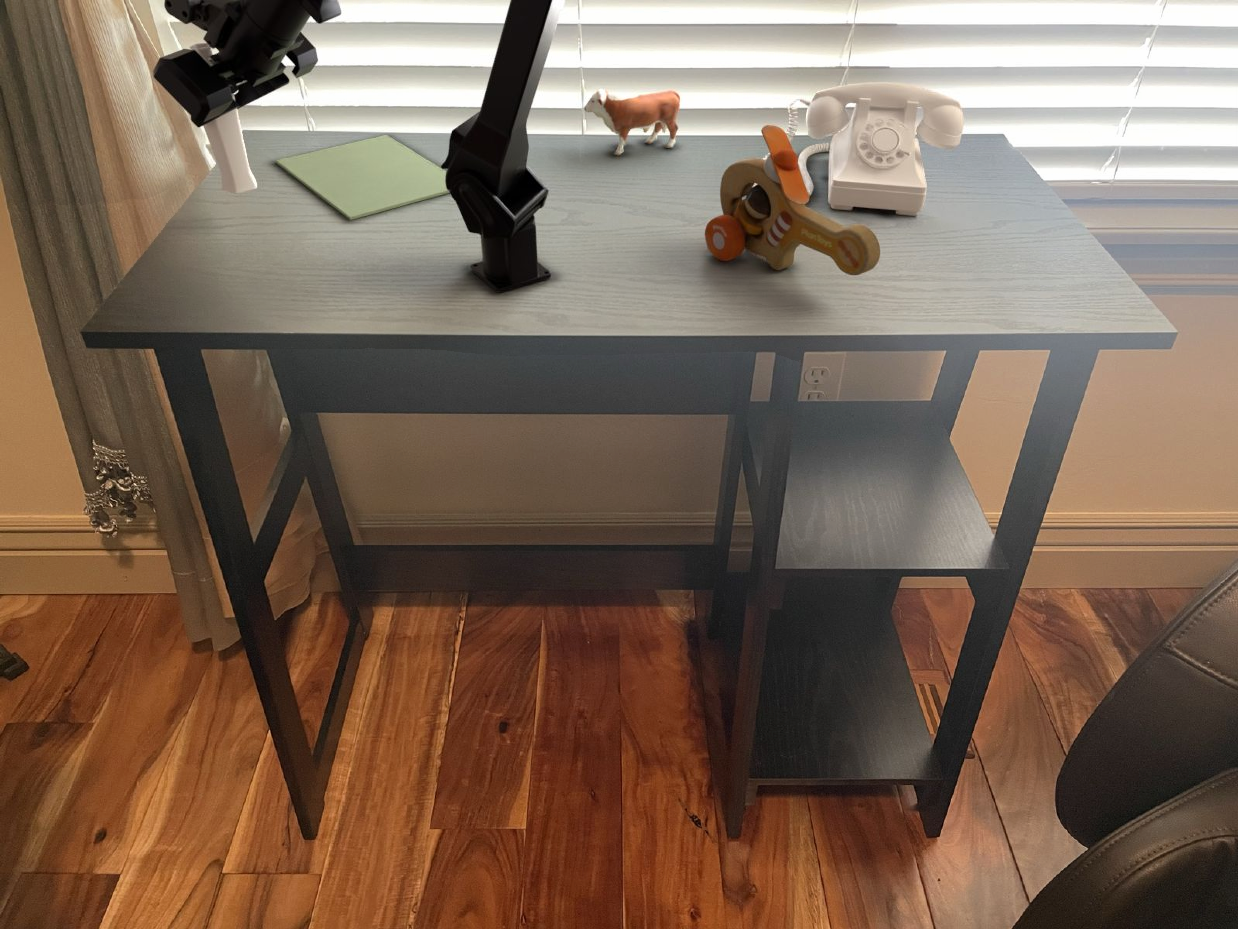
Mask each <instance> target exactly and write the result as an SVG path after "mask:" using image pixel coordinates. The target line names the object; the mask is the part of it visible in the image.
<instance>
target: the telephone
mask: <svg viewBox="0 0 1238 929" xmlns="http://www.w3.org/2000/svg"><path fill="white" fill-rule="evenodd" d="M797 101H799V102H800V103H802V104H803V105H804V106H807V109H806V115H805V124H806V130H807V135H808V136H809V137H810V138H811V139H814V140H821V139H826V138H829V137H831V136H832V138H831V141H830V142H826V143H825V142H823V143H816V144H812V145H810V146H807V147H805V148H803V150H801V152H800V154H799V156H798V164H799V167H800V172H801V174H802V178H803V181H804V183H805V186H806V189H807V191H808V194H809V197H811V196H812V194H813V192H814V182H813V180H812V178H811V175H810V174H809V172H808V169H807V160H808V158H809V157H810V156H811V155H814V154H817V153H823V152H829V154H828V183H827V184H828V187H827V188H828V190H827V192H828V193H827V194H828V196H827V203H828V204H829V205H830V208H831V209H833V210H841V211H853V208H854V207H856V208H866V209H867V208H868V209H880V210H889V211H891V210H892V211H895V213H896V215H900V216H909V217H911V216H912V217H916V216H918V214H919V213H920V212H923V210H924V205H925V203H926V199H927V198H926V197H927V189H928V186H927V178H926V175H925V169H924V164H923V158H922V154H921V147H920V142H919V139H920V140H921V141H923V142H924V143H926V144H928V145H929V146H932V147H934V148H938V149H941V150H942V149H943V150H952V149H955V148H957V147H958V146H959V145H960V143H961V139H962V136H963V130H964V124H965V120H964V114H963V113H964V112H963V109H962V107H961V106H962V105H961V104H960V101H958V100H957V99H954V98H952V97H950V96H948V95H945V94H943V93H940V92H938V91H935V90H932V89H928V88H925V87H922V86H917V85H912V84H908V83H901V82H892V81H891V82H890V81H871V82H858V83H849V84H843V85H838V86H833V87H829V88H824V89H822V90H818V91H816V92H815V93H814V95H813V97H812V99H811V101H810V100H807V99H804V98H797V99H795V100H794V101H793V102H791V103H790V104H789V105H788V106H787V110H788V114H789V115H788V121H789V122H788V126H787V130H786V131H787V132H785V133H786V135H787V137H788V139H789V141H790V144H791V143H792V141H793V140H794V136H796V133H795V132H797V128H798V123H799V121H798V119H799V116H798V113H799V112H798V107H797V106H793V105H794V104H795V103H796V102H797ZM849 104H855V105H854V108H853V111H852V114H851V116H850V114H849V112H848V110H847V108H846V107H847V105H849ZM791 107H792V108H791ZM919 108H920V109H922V119H921V121H919V123H918V124H917V116H918V111H919V110H918V109H919ZM792 111H793V112H792ZM794 115H795V116H794ZM850 117H851V118H850ZM795 119H797V120H795ZM916 135H917V137H918V138H919V139H918V138H916ZM769 155H770V152H768V153H767V154H766V155H765V156H764V157H763V158H761V159H762V160H765V161H766V159H767V157H768V156H769ZM756 185H758V184H756V183H755V184H754V185H753V187H754V186H756Z"/></svg>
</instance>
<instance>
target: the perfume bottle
mask: <svg viewBox="0 0 1238 929" xmlns="http://www.w3.org/2000/svg"><path fill="white" fill-rule="evenodd" d="M189 49H191V50H196V51H197V53H198V54H199V55H200V56H201V57H202V58H203V59H204V60H205V61H206V62H207V63H208V64H209V65H210V66H213V64H212V63H211V62H210V61H209V57H210V56H211V55H214V53H213V51H212V48H211V47H210V46H209V45H208V44H207V43H206V42H197V43H194V44H192V45H190V46H189ZM232 98H233V99H234V100H235V96H234V95H233V96H232ZM239 116H240V115H239V110H238V109H237V108H236V109H234V110H233V111H231V112H229V113H227V114H225V115H223V116H221V117H219V118H217V119H215V120H213V121H211V122H209V123H207V124H205V125H203V126H202V127H203V129H204V132H205V135H206V137H207V139H208V142H209V145H210V147H211V150H212V153H213V155H214V158H215V161H216V164H217V165H218V169H219V171H220V174H221V189H222V190H223V191H226V192H229V193H231V194H235V195H236V194H241V193H244V192H249V191H251V190H255V189H258V184H257V179H256V177H255V176H254V173H253V172H252V170H251V168H250V164H249V159H248V154H247V150H246V144H245V141H244V140H245V139H244V135H243V131H242V125H241V121H240V117H239Z"/></svg>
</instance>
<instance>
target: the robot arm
mask: <svg viewBox="0 0 1238 929" xmlns="http://www.w3.org/2000/svg"><path fill="white" fill-rule="evenodd" d="M565 2H566V0H510V1H509V5H508V9H507V13H506V16H505V18H504V23H503V27H502V30H501V34H500V37H499V41H498V43H497V44H498V45H497V48H496V52H495V55H494V59H493V63H492V66H491V70H490V73H489V77H488V81H487V84H486V88H485V91H484V95H483V98H482V101H481V102H482V103H481V106H480V110H479V111H478V112H476V113H475V114H474V115H472V116H470V117H469V118H468V119H466V120H465V121H463V122H461V124H459V125H458V126H456V127H455V128H453V129H452V130H451V133H450V137H449V139H448V140H449V141H448V142H449V143H448V151H447V156H446V158H445V160H444V161H443V162H442V164H441V165H440V168H441V169H443V170H446V176H445V184H446V188H447V190H448V191H449V192H450V193H449V194H450V196H451V198H452V199H453V201H455V203H456V206H457V208H458V210H459V214H460V215H461V218H462V219H463V222H464V224H465V227H466V229H467V231H468V232H469V233H472V234H477V235H479V236H480V245H481V246H480V247H481V256H482V261H478V262H474V263H471V265H470V270H471V271H472V272H473V273H474V274H475V275H476V276H477V277H479V278H480V279H481V280H482V281H483V282H485V283H486V284H487V285H488V286H489V287H490V288H492V289H493V290H494V291H495V292H497V293H503V292H507V291H510V290H515V289H517V288H521V287H524V286H528V285H531V284H534V283H537V282H540V281H544V280H547V279H550V278H551V277H552V272H551V271H550V270H549V269H548V268H546V267H545V266H544V265H543V264H541V263H540V262H539V261H538V241H537V240H538V239H537V225H536V217H535V214H536V213H537V212H538V211H539V210H540V209H543V207H544V206H545V204H546V201H547V197H548V194H549V189H548V188H547V186H546V185H545V184H544V182H542V180H541V179H540V178H539V177H538V176H537V175H536V173H534V171H533V170H532V169H531V168H530V167H529V166H528V165H527V164H528V156H529V148H530V146H529V138H528V137H529V136H528V130H527V123H528V118H529V115H530V112H531V108H532V106H533V102H534V99H535V96H536V93H537V89H538V86H539V85H540V84H539V83H540V81H541V77H542V74H543V70H544V68H545V65H546V62H547V58H548V55H549V52H550V49H551V45H552V42H553V39H554V36H555V33H556V30H557V28H558V23H559V20H560V17H561V15H562V11H563V8H564V5H565ZM340 5H341V4H340V2H339V0H164V4H163V6H164V9H165V11H166V13H167V14H168V15H169V16H172V18H174V19H177V20H178V21H179V22H181V23H183V24H184V25H188V24H192V25H193V26H195V27H197V28H199V29H200V30H203V31H204V32H206V33H205V35H204V36H203V41H204V43H207V44H208V45H209V46H210V47H211V50H212V49H213V50H214V49H217V53H213V55H211V56H210V57H209V61H210V62H211V63H212V64H213V66H210V65H209V64H208V63H207V62H206V61H205V60H204V59H203V58H202V57H201V56H200V55H199V54H198V53H197V51H196V50H192V49H191V48H181V49H179V50H177V51H174V52H172V53H169V54H166V55H164V56H161V57H159V58H158V61H157V62H156V65H155V67H153V70H152V75H153V79H154V80H156V81H157V83H159V85H161V87H162V88H163V89H164V90H165V91H166V92H167V93H168V94H169V95H170V96H171V98H173V99H174V100H175V101H176V102H177V103H178V104H179V105H180V106H181V107H182V108H183V109H184V110H185V111H186V113H188V114H189V115H190V121H191V122H192V123H193V125H195V127H197V128H201V127H203V125H205V124H207V123H209V122H211V121H213V120H215V119H217V118H219V117H221V116H223V115H225V114H227V113H229V112H231V111H233V110H234V109H236V108H237V110H239V109H241V108H243V107H245V106H248V105H249V104H251V103H253V102H255V101H257V100H259V99H261V98H262V97H265V96H267V95H269V94H271V93H273V92H275V91H277V90H279V89H281V88H283V87H285V86H287V85H288V84H289V83H290V78H289V77H288V75H287V74H286V73H285V70H286V68H287V66H286V64H284V63H283V61H284V58H285V57H286V58H288V59H289V60H290V62H291V63H292V64H293V65H294V67H293V68H292V70H291V73H292V75H293V76H294V77H295V78H296V79H299V78H301V77H303V76H305V75H308V74H309V73H311V72H312V71H313V69H314V68H315V67H316V65H317V64H318V62H319V58H318V52H317V48H316V47H315V46H314V45H313V44H312V42H311V41H310V40H309V39H308V38H307V37H306V36H305V34H304V33H302V30H303V29H304V27H305V26H306V24H307V23H308V21H309V20H310V18H312V19H313V20H314V21H315V22H316V23H317V24H318V25H321V24H324V23H326V22H328V21H331V20H333V19H336V18H337V17H339V16H341V15H342V8H341V6H340ZM233 95H234V96H235V100H234V99H233V98H232V96H233Z"/></svg>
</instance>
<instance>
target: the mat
mask: <svg viewBox="0 0 1238 929" xmlns="http://www.w3.org/2000/svg"><path fill="white" fill-rule="evenodd" d="M275 162H276V164H277V165H278V166H279V167H281V168H282V169H283V170H285V171H286V172H287V173H289V174H290V175H291V176H292V177H294V178H295V179H297V181H299V182H300V183H301V184H303V185H304V186H305V187H307V188H308V189H309V190H311V191H312V192H314V193H315V194H316V195H317V196H318V197H320V198H321V199H322V200H324V201H325V202H326V203H328V204H329V205H330V206H331V207H333V208H334V209H336V210H337V211H338V212H339V213H340V214H342V215H343V216H344V217H345V218H347V219H348V220H350V221H353V220H356V219H360V218H364V217H368V216H371V215H375V214H378V213H382V212H385V211H389V210H392V209H396V208H399V207H403V206H408V205H410V204H415V203H418V202H422V201H425V200H429V199H433V198H436V197H440V196H444V195H447V194H450V192H449V191H448V190H447V188H446V184H445V176H446V172H447V170H446V169H442V168H441V166H438V165H436V164H435V163H434V162H432V161H430V160H428V159H427V158H425V157H423V156H422V155H420V154H418V153H417V152H416V151H413V150H412V149H410V148H409V147H407V146H406V145H404V144H402V143H400V142H399V141H397V140H396V139H394V138H392V137H390V136H389V135H388V134H384V135H380V136H375V137H372V138H367V139H361V140H357V141H353V142H349V143H345V144H340V145H336V146H332V147H327V148H323V149H319V150H315V151H311V152H307V153H302V154H298V155H292V156H289V157H284V158H281V159H277V160H275Z"/></svg>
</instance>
